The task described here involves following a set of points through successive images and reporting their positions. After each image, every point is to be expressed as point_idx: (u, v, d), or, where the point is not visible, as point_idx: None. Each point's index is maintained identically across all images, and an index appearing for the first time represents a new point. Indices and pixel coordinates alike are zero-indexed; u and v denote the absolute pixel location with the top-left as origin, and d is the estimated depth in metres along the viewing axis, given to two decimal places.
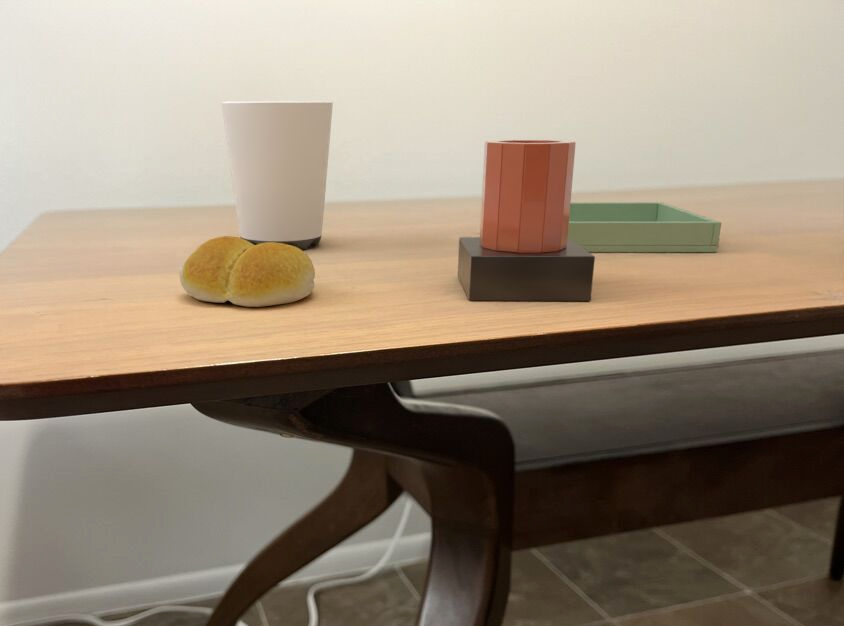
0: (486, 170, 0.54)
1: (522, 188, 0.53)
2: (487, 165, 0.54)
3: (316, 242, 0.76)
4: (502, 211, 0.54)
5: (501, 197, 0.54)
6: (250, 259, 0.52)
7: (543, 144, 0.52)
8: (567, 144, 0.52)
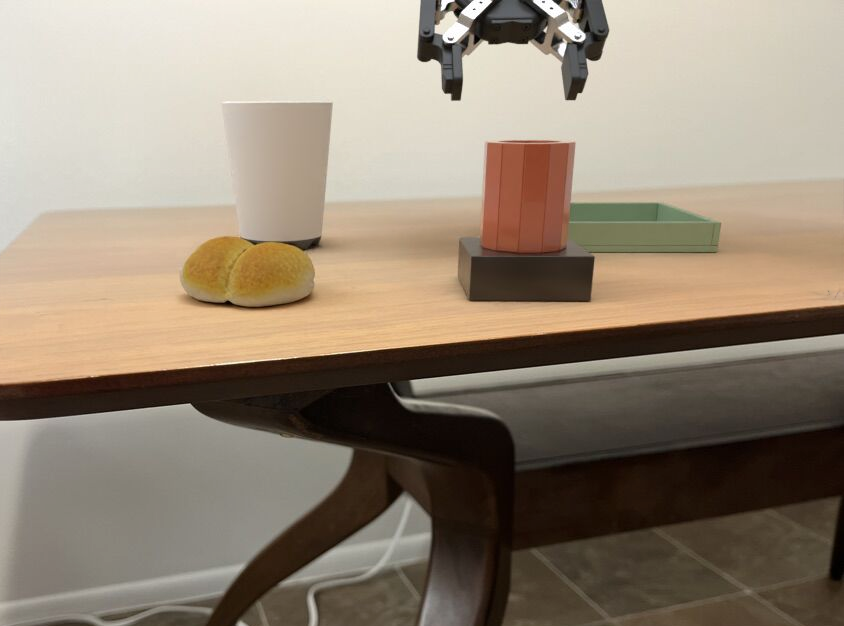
0: (486, 170, 0.54)
1: (522, 188, 0.53)
2: (487, 165, 0.54)
3: (316, 242, 0.76)
4: (502, 211, 0.54)
5: (501, 197, 0.54)
6: (250, 259, 0.52)
7: (543, 144, 0.52)
8: (567, 144, 0.52)
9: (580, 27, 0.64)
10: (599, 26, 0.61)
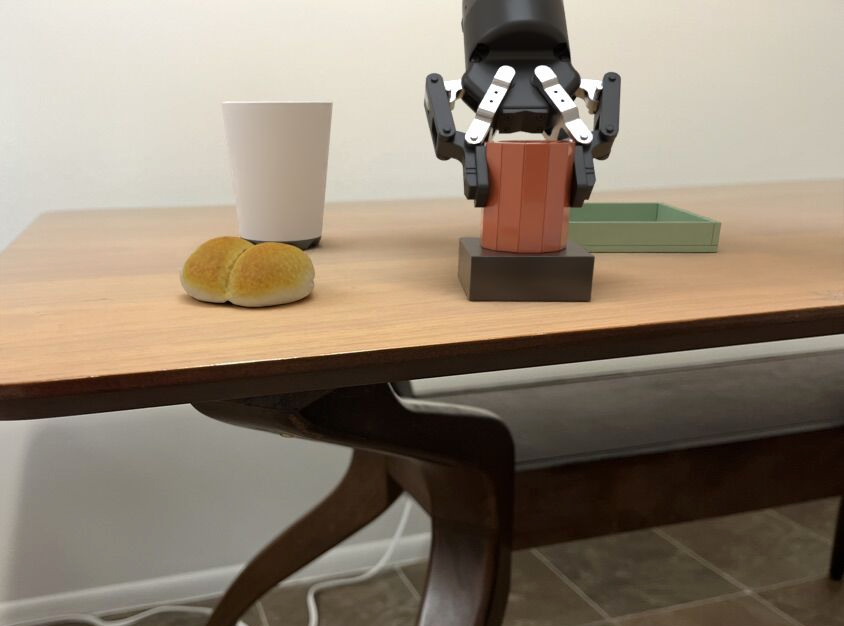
0: None
1: (522, 188, 0.53)
2: (487, 165, 0.54)
3: (316, 242, 0.76)
4: (502, 211, 0.54)
5: (501, 197, 0.54)
6: (250, 259, 0.52)
7: (543, 144, 0.52)
8: (567, 144, 0.52)
9: (594, 120, 0.58)
10: (609, 124, 0.55)
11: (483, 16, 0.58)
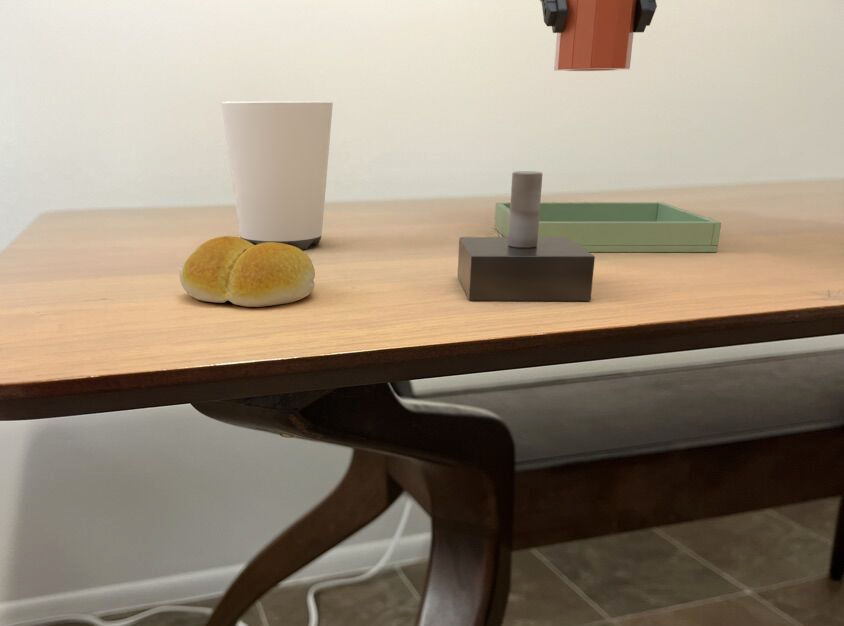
0: None
1: (595, 10, 0.63)
2: None
3: (316, 242, 0.76)
4: (578, 33, 0.64)
5: (577, 20, 0.64)
6: (250, 259, 0.52)
7: None
8: None
9: None
10: None
11: None
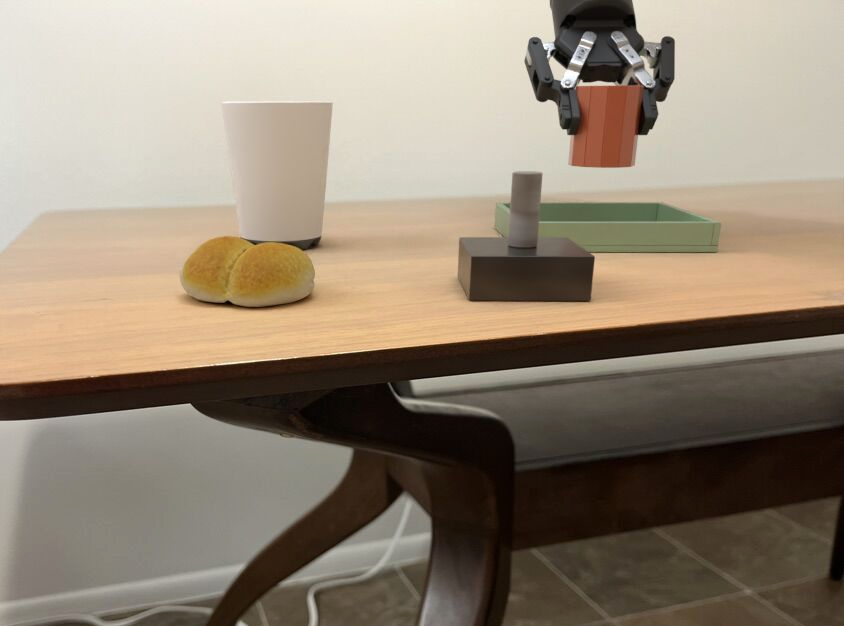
0: None
1: (605, 118, 0.72)
2: None
3: (316, 242, 0.76)
4: (589, 136, 0.73)
5: (589, 126, 0.73)
6: (250, 259, 0.52)
7: (622, 86, 0.71)
8: (638, 86, 0.72)
9: (654, 72, 0.78)
10: (667, 74, 0.75)
11: None
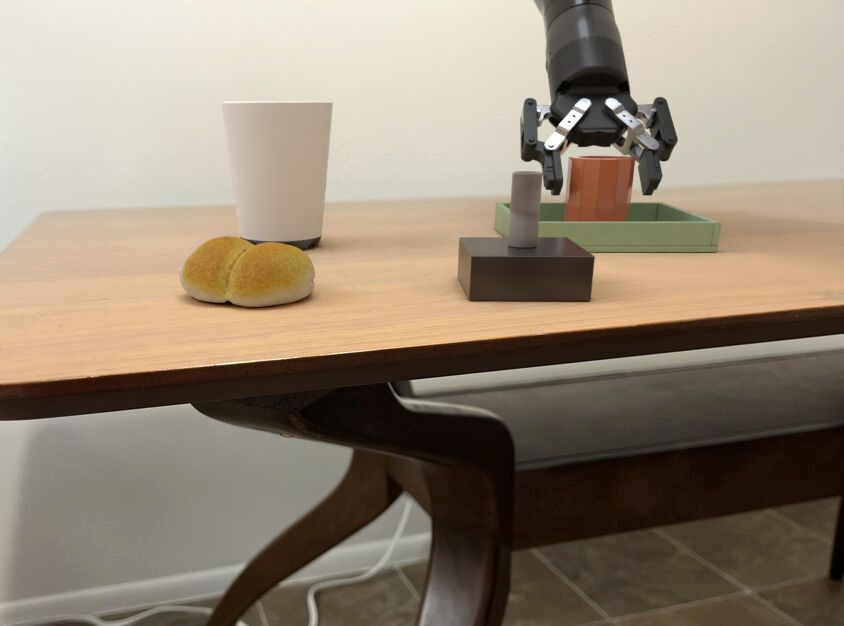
0: (570, 177, 0.76)
1: (598, 190, 0.74)
2: (571, 174, 0.76)
3: (316, 242, 0.76)
4: (582, 207, 0.75)
5: (582, 197, 0.75)
6: (250, 259, 0.52)
7: (614, 159, 0.73)
8: (630, 159, 0.74)
9: (651, 132, 0.80)
10: (669, 135, 0.77)
11: (566, 61, 0.79)
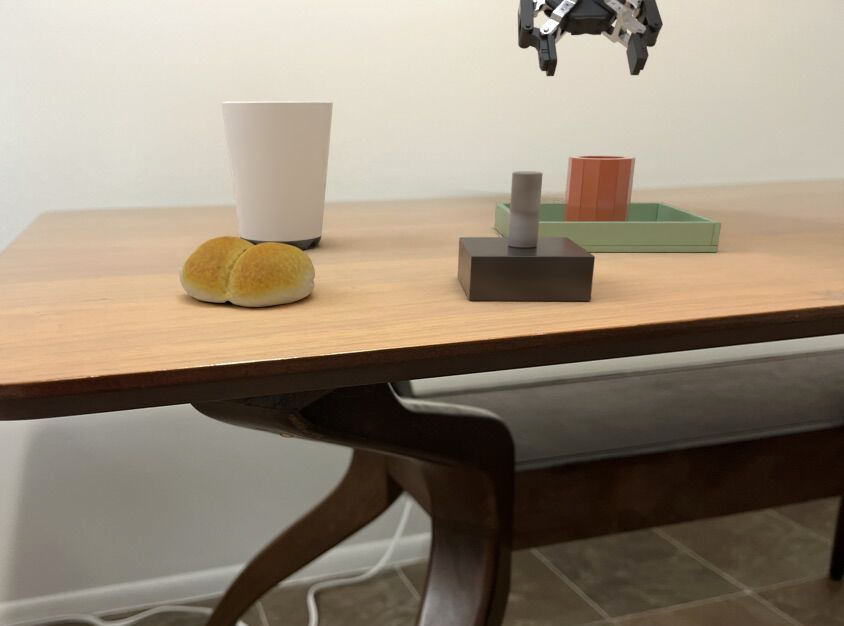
0: (570, 177, 0.76)
1: (598, 190, 0.74)
2: (571, 174, 0.76)
3: (316, 242, 0.76)
4: (582, 207, 0.75)
5: (582, 197, 0.75)
6: (250, 259, 0.52)
7: (614, 159, 0.73)
8: (630, 159, 0.74)
9: (639, 22, 0.86)
10: (655, 20, 0.83)
11: None
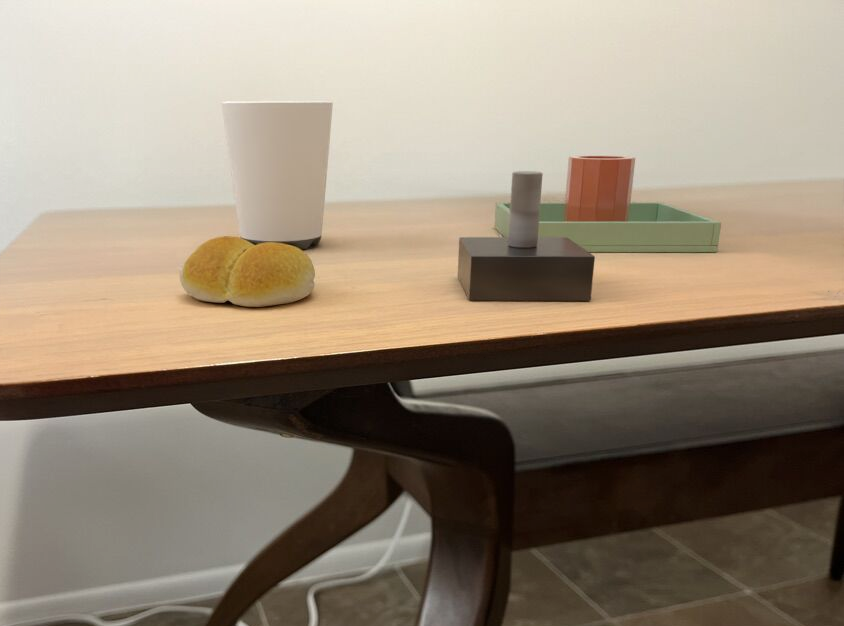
0: (570, 177, 0.76)
1: (598, 190, 0.74)
2: (571, 174, 0.76)
3: (316, 242, 0.76)
4: (582, 207, 0.75)
5: (582, 197, 0.75)
6: (250, 259, 0.52)
7: (614, 159, 0.73)
8: (630, 159, 0.74)
9: None
10: None
11: None
